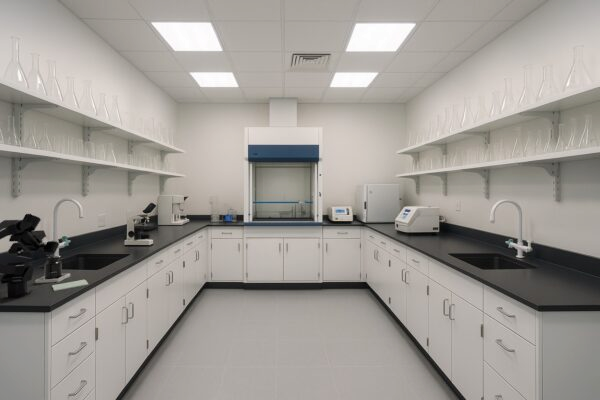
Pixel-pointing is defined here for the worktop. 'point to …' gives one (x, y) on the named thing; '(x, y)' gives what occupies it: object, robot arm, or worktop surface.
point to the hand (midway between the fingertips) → (43, 257)
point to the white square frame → (43, 280)
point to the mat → (69, 285)
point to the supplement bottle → (53, 268)
